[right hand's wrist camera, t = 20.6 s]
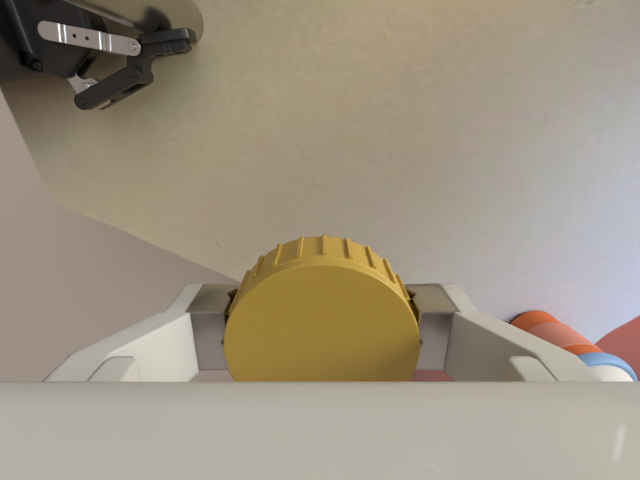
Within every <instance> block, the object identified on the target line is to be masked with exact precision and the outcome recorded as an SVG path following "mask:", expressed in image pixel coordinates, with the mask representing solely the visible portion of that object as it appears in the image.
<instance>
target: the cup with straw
mask: <svg viewBox="0 0 640 480" xmlns="http://www.w3.org/2000/svg"><path fill="white" fill-rule="evenodd" d="M510 325H513V326H515V327H517V328H519V329H521V330H523V331H525V332H528V333H530V334H532V335H534V336H536V337H538V338H540V339H543V340H545V341H547V342H549V343H551V344H553V345H555V346H557V347H560V348H562V349H564V350H566V351H568V352H570V353H572V354H575V355H576V356H577V357H578V358H579V359H580V360H582V361H583V362H584V363H585V364H586V365H587V366H588V367H589V368H590V369H591V370H592V371H593V372H594V373H595V374H596V375H597V376H598V377H599V378H600V379H601V380H602V381H637V377H636V375H635V373H634V371H633V370H632V368H631V367H630V366H629V365H628V364H627V363H626V362H624V361H623V360H621V359H620V358H618V357H616V356H614V355H611V354H607V353H604V352H603V351H602V350H601V349H599V348H598V347H597V346H595V345H594V344H592V343H591V342H590V341H588V340H587V339H585V338H584V337H583V336H581V335H580V334H578V333H577V332H576V331H574V330H573V329H572V328H570V327H569V326H567V325H565V324H562V323H561V322H559V321H558V320H556V319H555V318H554V317H552V316H551V315H549V314H547V313H545V312H542V311H530V312H526V313H524V314H522V315H520V316H518V317H517V318H515V319H514V320H513V321H512V322H511V324H510Z"/></svg>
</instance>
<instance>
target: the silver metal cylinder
mask: <svg viewBox="0 0 640 480" xmlns="http://www.w3.org/2000/svg"><path fill="white" fill-rule="evenodd" d="M63 1H66V2H68V3H71V4H73V5H75V6H78V7H80V8H83V9H85V10H88V11H90V12H92V13H95V14H97V15H100V16H102V17H105V18H107V19H109V20H112V21H114V22H117V23H119V24H122V25H124V26H127V27H129V28H131V29H134V30H136V31H139V32H141V33H150V32H155V31H162V30H169V29H176V28H190V29H191V30H193V31H195V33H196V38H197V42H198V41H199V39H200V38H201V35H202V32H203V19H202V16H201V13H200V11H199V9H198V8H197V6H196V5H195V4H194V3H193V2H192V1H191V0H63ZM195 44H196V43H192V44H191V47H192V46H193V45H195Z"/></svg>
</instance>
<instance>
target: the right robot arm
mask: <svg viewBox="0 0 640 480" xmlns="http://www.w3.org/2000/svg"><path fill="white" fill-rule="evenodd" d="M239 287H240V286H239V284H204V283H196V284H186V285H185V286H184V288H183V289H182V290H181V291H180V293H179V294H178V295H177V297H176V298H175V299H174V300H173V302H172V303H171V304H170V306H169V307H168V308H167V310H166V311H165V312H159V313H157V314H154V315H152V316H150V317H148V318H146V319H144V320H142V321H140V322H138V323H135V324H133V325H131V326H129V327H127V328H125V329H123V330H121V331H118V332H116V333H114V334H112V335H110V336H108V337H106V338H104V339H101V340H99V341H97V342H95V343H93V344H91V345H89V346H87V347H84V348H82V349H80V350H78V351H76V352H74V353H72V354H70V355H68V356H67V357H66V358H65V359H64V360H63V361H62V362H61V363H60V364H59V365H58V366H57V367H56V368H55V369H54V370H53V371H52V372H51V373H50V374H49V375H48V376H47V377H46V378H45V379H44V380H43V381H41V382H40V381H38V382H37V381H35V382H34V381H32V382H31V381H29V382H27V381H24V382H23V381H19V382H18V381H5V382H4V381H0V480H640V381H602V380H601V379H600V378H599V377H598V376H597V375H596V374H595V373H594V372H593V371H592V370H591V369H590V368H589V367H588V366H587V365H586V364H585V363H584V362H583V361H582V360H580V359H579V358H578V357H577V356H576V355H575V354H572V353H570V352H568V351H566V350H564V349H562V348H560V347H557V346H555V345H553V344H551V343H549V342H547V341H545V340H543V339H540V338H538V337H536V336H534V335H532V334H530V333H528V332H525V331H523V330H521V329H519V328H517V327H515V326H513V325H510V324H508V323H506V322H504V321H502V320H500V319H498V318H496V317H493V316H491V315H489V314H487V313H485V312H479V311H478V310H477V309H476V308H475V306H474V305H473V304H472V303H471V301H470V300H469V299H468V298H467V296H466V295H465V294H464V293H463V291H462V290H461V289H460V287H459V286H458V285H457V284H455V283H448V284H405V285H404V287H405V289H406V291H407V294H408V296H409V298H410V303H411V305H412V309H413V311H414V313H415V315H416V322H417V325H418V329H419V334H420V353H419V358H418V362H417V366H416V368H415V370H443V371H444V372H445V373H446V374H447V375H448V376H449V377H450V378H451V379H453V380H454V381H205V382H204V381H190V380H191V379H192V378H193V377H194V376H196V375H197V374H198V373H199V371H200V370H229V369H228V367H227V364H226V361H225V355H224V346H223V338H224V332H225V327H226V324H227V320H228V318H229V315H227V313H228V310H229V308H230V306H231V304H232V302H233V299H234V297H235V295H236V293H237V291H238V289H239Z"/></svg>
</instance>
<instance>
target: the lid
mask: <svg viewBox="0 0 640 480" xmlns="http://www.w3.org/2000/svg"><path fill="white" fill-rule="evenodd" d="M227 315H229V318H228V320H227V324H226V327H225V332H224V338H223V346H224V355H225V361H226V364H227V367H228V369H229V372H230V374H231V376H232V378H233V380H234V381H409V380H410V379H411V377H412V375H413V373H414V371H415V368H416V366H417V362H418V358H419V353H420V334H419V329H418V325H417V322H416V315H415V313H414V311H413V309H412V305H411V303H410V298H409V296H408V294H407V291H406V289H405V287H404V285H403V283H402V281H401V279H400V276H399V275H395V274H394V272H393V271H392V269H391V267H390V265H389V263H388V261H387V260H386V259H384V260H383V259H381V258H380V257H379V256H378V255H377V254H375V253H374V252H372V250H371V247H369V246H367V247H364V246H362V245H360V244H357V243H355V242H352V241H350V238H345V239H340V238H335V237H327V235H326V234H323V235H322V237H309V238H303V236H301V237H299V239H298V240H295V241H291V242H288V243H286V244H284V245H282V244H281V243H280V244H278V245H277V248H276V249H274V250H272V251H271V252H269V253H268V254H267V255H265V256H263V255H261V256H260V257H259V259H258V262H257V264H256V265H255V266H254V267H253V268H252V270H251V271H247V272H246V274H245V276H244V278H243V280H242V283H241V285H240V287H239V289H238V291H237V293H236V295H235V297H234V299H233V302H232V304H231V306H230V308H229V310H228V313H227Z"/></svg>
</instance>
